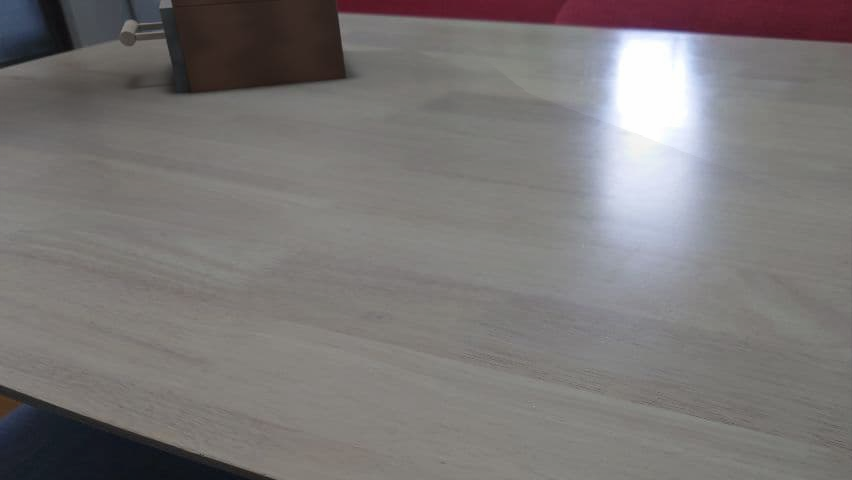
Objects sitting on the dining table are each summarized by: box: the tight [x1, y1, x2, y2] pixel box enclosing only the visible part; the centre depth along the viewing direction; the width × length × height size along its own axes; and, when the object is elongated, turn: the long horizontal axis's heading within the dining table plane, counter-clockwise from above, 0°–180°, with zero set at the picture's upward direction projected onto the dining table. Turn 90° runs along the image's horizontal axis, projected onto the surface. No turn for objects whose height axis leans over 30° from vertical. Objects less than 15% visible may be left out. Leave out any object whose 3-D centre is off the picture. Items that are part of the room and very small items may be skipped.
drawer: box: [118, 0, 191, 94], centre depth 82 cm, size 18×11×8 cm, turn 110°
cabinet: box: [171, 0, 347, 94], centre depth 83 cm, size 15×13×10 cm
